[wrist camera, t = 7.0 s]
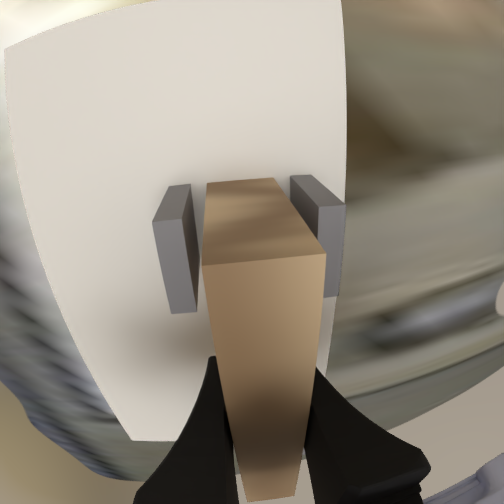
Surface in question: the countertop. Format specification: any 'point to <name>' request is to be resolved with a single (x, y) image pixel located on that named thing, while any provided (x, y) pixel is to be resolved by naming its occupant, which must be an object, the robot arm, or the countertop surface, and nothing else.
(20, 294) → the countertop surface
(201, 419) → the robot arm
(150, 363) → the board
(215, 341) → the door panel
